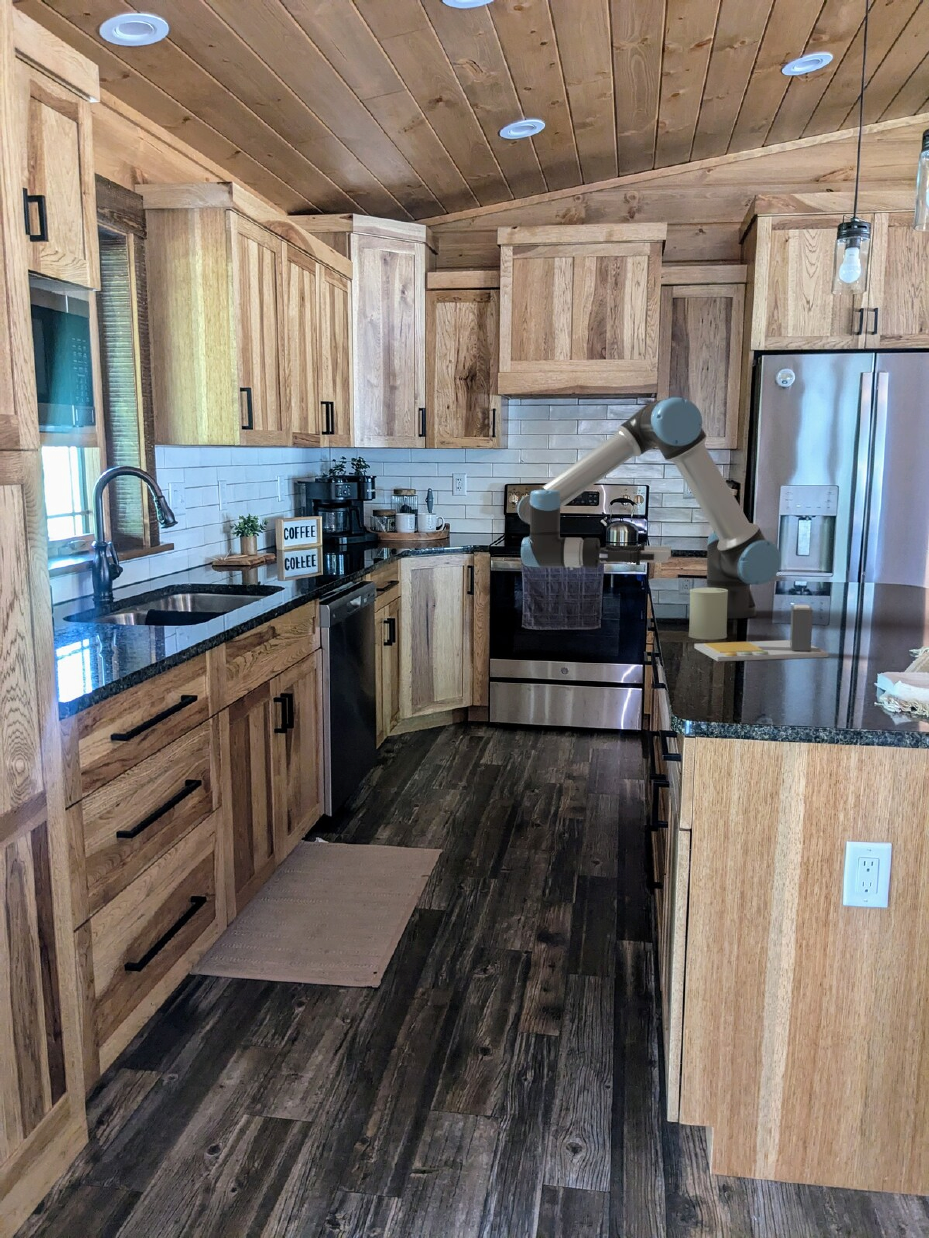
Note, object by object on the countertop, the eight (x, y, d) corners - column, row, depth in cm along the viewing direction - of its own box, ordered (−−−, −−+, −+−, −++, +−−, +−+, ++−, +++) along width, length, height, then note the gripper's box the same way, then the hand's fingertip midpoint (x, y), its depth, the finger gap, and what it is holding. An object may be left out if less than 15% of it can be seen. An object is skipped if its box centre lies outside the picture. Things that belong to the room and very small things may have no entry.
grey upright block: (808, 646, 212) (810, 604, 210) (810, 650, 207) (812, 608, 206) (789, 645, 213) (791, 604, 211) (791, 650, 208) (793, 607, 207)
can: (728, 640, 227) (729, 590, 225) (689, 639, 229) (689, 590, 227) (725, 633, 236) (727, 585, 234) (687, 632, 238) (688, 585, 236)
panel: (798, 643, 221) (798, 638, 221) (828, 656, 206) (829, 650, 206) (694, 648, 219) (694, 642, 219) (717, 661, 204) (717, 655, 204)
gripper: (589, 562, 250) (671, 564, 244) (576, 573, 226) (667, 575, 220) (589, 534, 248) (672, 534, 243) (576, 542, 225) (667, 543, 219)
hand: (669, 554), depth 232 cm, fingers open, 13 cm apart
